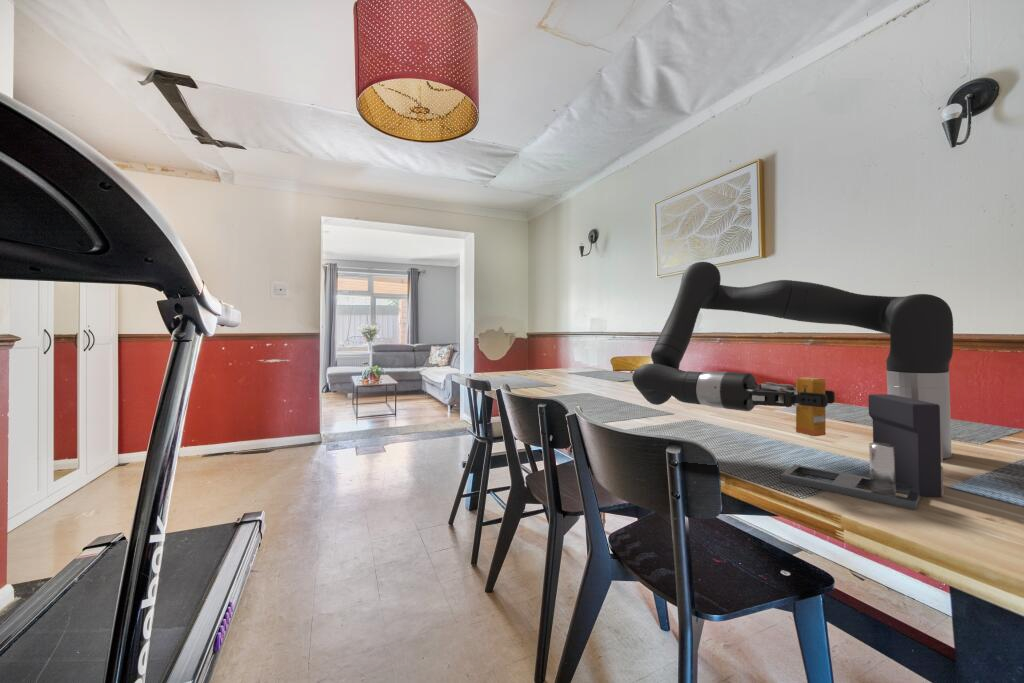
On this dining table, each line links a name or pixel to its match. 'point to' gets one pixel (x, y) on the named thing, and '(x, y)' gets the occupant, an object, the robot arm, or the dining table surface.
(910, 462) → the black coffee maker
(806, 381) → the supplement box
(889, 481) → the steel pin
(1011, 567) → the dining table surface
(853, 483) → the hole plate
